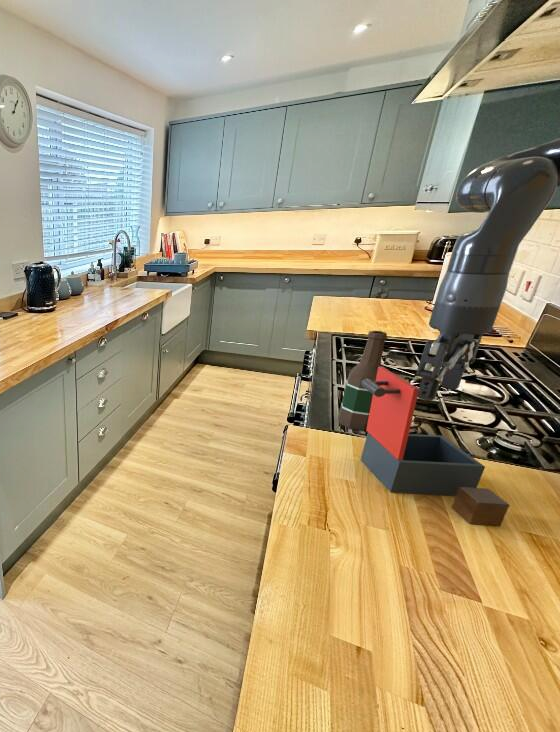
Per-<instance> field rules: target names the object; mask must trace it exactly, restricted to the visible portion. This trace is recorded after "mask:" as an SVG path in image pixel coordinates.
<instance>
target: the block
mask: <svg viewBox="0 0 560 732" xmlns="http://www.w3.org/2000/svg"><path fill="white" fill-rule="evenodd" d="M509 507H510V504H509V503H508V502H507V501H506V500H504V499H503V498H502V497H500V496H499V495H498V494H496V493H495V492H494V491H493V490H491V489H490V488H486V487H485V488H484V487H477V488H470V487H459V489H458V491H457V494H456V496H454V499H453V502H452V505H451V509H453V510H454V512H456V513H457V514H458V515H459V516H460V517H461V518H462V519H464V520H465V522H467V523H468V524H470V525H479V526H493V527H494V526H495V527H501V525H502V523H503V521H504V519H505V517H506V514H507V513H508V510H509Z"/></svg>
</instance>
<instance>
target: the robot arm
mask: <svg viewBox="0 0 560 732" xmlns="http://www.w3.org/2000/svg"><path fill="white" fill-rule="evenodd" d="M557 188H560V137H559V138H556V139H553V140H551V141H548V142H545V143H542V144H539V145H535V146H532V147H529V148H526V149H522V150H519V151H516V152H513V153H509V154H507V155H504V156H501V157H498V158H496V159H493V160H490V161H488V162H485V163H483V164H481V165H480V166H477V167H476V168H475V169H473V170H472V171H470V172H469V173H468V174H466V176H465V177H464V178H463V179H462V180H461V182H460V183H459V185H458V187H457V190H456V194H455V196H456V197H455V198H456V199H455V200H456V202H457V204H458V206H459V207H460V208H462V209H463V210H465V211H467V212H471V213H476V214H487V215H486V217H485V219H484V220H483V221H482V223H481V225H480V226H479V227H478V228H477V229H475V230H470V231H467V232H464V233H462V234H460V235H459V236H458V237H457V239H456V240H455V243H454V245H453V248H452V250H451V254H450V258H449V261H448V265H447V267H446V271H445V274H444V276H443V278H442V280H441V282H440V284H439V288H438V291H437V294H436V298H435V301H434V304H433V308H432V310H431V315H430V318H429V321H428V326H429V327H430V328H432V329H433V330H437V331H438V332H439V334H438V336H437V338H436V339H434V340H427V341H426V342H425V346H424V348H423V351H422V354H421V357H420V361H419V364H418V367H417V370H416V372H415V376H416V377H420V378H421V379H420V380H421V381H420V384H419V388H418V389H419V390H418V394H417V399H420V400H423V401H426V402H427V401H428V402H432V401H434V400H435V399H436V397H437V393H438V390H439V387H440V386H441V388H444V389H448V390H452V391H455V390H457V389H459V387H460V384H461V380H462V379H463V375H464V372H465V370H467V369H469V366H470V365H472V364H473V363H475V361H476V357H477V353H478V351H479V348H480V344H481V340H482V337H483V336H484V335H485V334H488V333H490V332H491V331H492V330H493V327H494V326H495V322H496V320H497V316H498V314H499V312H500V308H501V304H502V302H503V299H504V297H505V294H506V291H507V288H508V284H509V283H508V281H509V276H510V272H511V271H512V267H513V264H514V261H515V259H516V256H517V253H518V250H519V246H520V245H521V244H522V241H523V240H524V239H525V238H526V236H527V235H528V234H529V232H530V231H531V230H532V228H533V227H534V225H535V224H536V222H537V221H538V219H539V218H540V217H541V215H542V213H544V211H545V210H546V208H547V206H548V205H549V204H550V202H551V200H552V199H553V198H554V195H555V193H556V191H557ZM432 368H433V370H431V369H432Z"/></svg>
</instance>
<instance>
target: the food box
mask: <svg viewBox="0 0 560 732" xmlns="http://www.w3.org/2000/svg"><path fill="white" fill-rule="evenodd" d="M360 461H361V462H362V463H363V464H364V466H365V467H366V468H367V469H368V470H369V471H370V472H371V473H372V474H373V475H374V476H375V477H376V479H377V480H379V482H381V484H382V485H383V486H384V487H385V488H386V489H387V491H389V492H390V493H398V494H399V493H400V494H413V495H414V494H416V495H428V496H429V495H430V496H431V495H432V496H444V497H445V496H446V497H456V494H457V491H458V489H459V487H470V488H478V486H479V484H480V480H481V479H482V476H483V474H484V471H485V468H486V466H485V465H484V464H482V463H481V462H480V461H478V460H477V459H476V458H475V457H473V456H471V455H470V454H468V453H467V452H466V451H464V450H463V449H461V448H460V447H459V446H457V445H456V444H455V443H453V442H452V441H451V440H449V439H447V438H446V437H445V436H443V435H442V434H441V435H440V434H415V433H409V435H408V439H407V443H406V448H405V452H404V456H403V460H397V459H396V458H395V457H394V456H393V455H392V454H391V453H390V452H389V451H388V450H387V449H386V448H384V447H383V446H382V445H381V444H380V443H379V442H378V441H377V440H376V439H375V438H374V437H373V436H372V435H370V434H369V433H368V432H367V434H366V438H365V441H364V445H363V449H362V453H361V455H360Z"/></svg>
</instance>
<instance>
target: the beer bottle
mask: <svg viewBox="0 0 560 732" xmlns="http://www.w3.org/2000/svg"><path fill="white" fill-rule="evenodd" d="M386 339H388V334H387V332H385V331H382V330H371V331H369V332H368V333H367V340H366V344H365V347H364V350H363V354H362V356H361V359H360V361H359V362H358V363H357V364H356V365H354V366H353V367H352V368H351V370H350V371H349V373H348V376H347V379H346V383H345V387H344V391H343V395H342V400H341V404H340V408H339V413H338V423H339V425H341V426H343V427H345V428H347V429H349V430H356V431H363V432H364V431H366V428H367V423H368V418H369V413H370V408H371V402H372V397H373V394H372V393H371V392H370V391H368V390H367V389H366V388H364V387H363V386H362V385H361V382H362V380H364V379H370V380H372V381H376V376H377V371H378V367H382V358H383V352H384V347H385V341H386Z"/></svg>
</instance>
